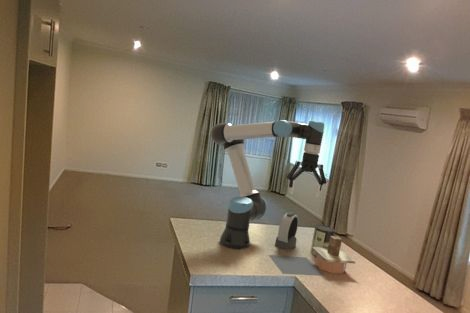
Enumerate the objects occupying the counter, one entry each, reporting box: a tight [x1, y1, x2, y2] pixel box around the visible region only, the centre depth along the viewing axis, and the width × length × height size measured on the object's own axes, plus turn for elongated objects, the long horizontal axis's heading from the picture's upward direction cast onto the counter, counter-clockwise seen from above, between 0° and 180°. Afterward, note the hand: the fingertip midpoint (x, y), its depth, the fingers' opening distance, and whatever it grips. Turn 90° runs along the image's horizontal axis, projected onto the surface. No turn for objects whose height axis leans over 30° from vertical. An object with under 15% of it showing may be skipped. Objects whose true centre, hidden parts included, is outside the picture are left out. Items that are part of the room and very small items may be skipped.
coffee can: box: [310, 224, 336, 257], centre depth 193 cm, size 10×10×14 cm
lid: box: [310, 235, 356, 264], centre depth 175 cm, size 15×15×9 cm
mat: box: [268, 254, 326, 277], centre depth 172 cm, size 20×20×1 cm
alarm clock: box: [274, 211, 299, 250], centre depth 197 cm, size 16×10×18 cm, turn 152°
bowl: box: [315, 254, 348, 274], centre depth 176 cm, size 13×13×6 cm
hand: (303, 195), depth 182 cm, fingers open, 13 cm apart
